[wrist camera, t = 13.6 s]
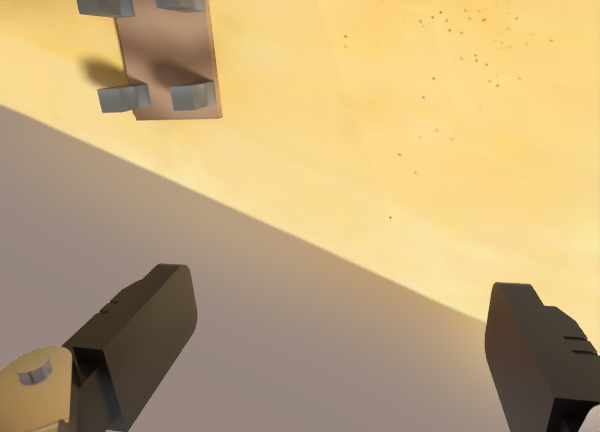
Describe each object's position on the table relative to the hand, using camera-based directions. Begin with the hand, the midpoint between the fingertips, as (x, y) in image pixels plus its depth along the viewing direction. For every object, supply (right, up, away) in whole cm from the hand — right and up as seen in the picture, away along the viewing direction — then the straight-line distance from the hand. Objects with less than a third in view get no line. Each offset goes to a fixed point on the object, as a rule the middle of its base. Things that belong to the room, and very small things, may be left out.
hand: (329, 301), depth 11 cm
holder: (-13, +18, +28) cm, 36 cm away
